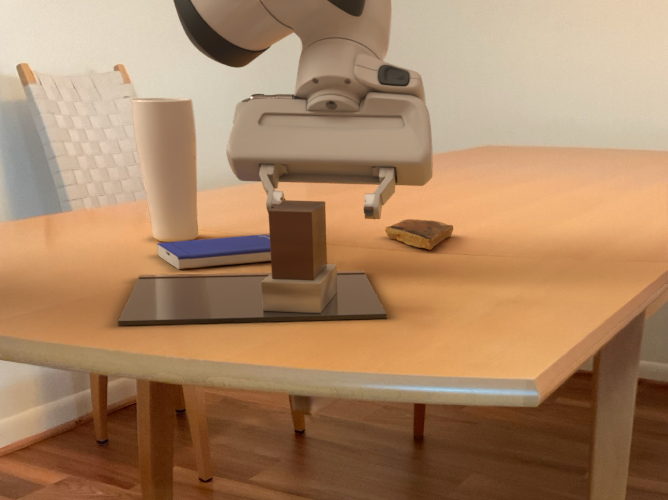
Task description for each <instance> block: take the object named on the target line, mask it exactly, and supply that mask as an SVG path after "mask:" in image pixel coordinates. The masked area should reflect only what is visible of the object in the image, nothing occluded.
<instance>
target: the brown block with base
mask: <svg viewBox="0 0 668 500" xmlns="http://www.w3.org/2000/svg"><path fill="white" fill-rule="evenodd" d="M326 212H327V211H326V201H323V200H320V201H319V200H287V199H285V201H283V202H282V203H280V204H279V205H277V206H275V207H274V208H272V209H271V210H269V211H267V213H269V214H268V228H269V229H268V230H269V236H270V249H271V261H270V263H271V264H270V265H271V272H272V273H271V274H269V275H268V276H267V277H266V278H265V279H264V280H263V281H261V287H262V304H263V311H271V312H296V313H321V312H322V311H323V310H324V308H325V307H326V306H327V304H328V303H329V302H330V301H331V299H332V298H333V297H334V295H335V294H336V293H337V271H338V265H337V264H335V263H328V252H327V251H328V249H327V216H326V215H327V214H326Z"/></svg>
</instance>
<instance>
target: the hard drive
mask: <svg viewBox="0 0 668 500" xmlns="http://www.w3.org/2000/svg"><path fill="white" fill-rule="evenodd" d="M156 247H157V255H158V257H159V258H160V259H162V260H164V261H165V262H167V263H168V264H169V265H171V266H173V267H174V268H176V269H177V270H184V269H197V268H199V269H200V268H210V267H219V266H230V265H231V266H232V265H241V264H253V263H262V262H271V249H270V234H267V233H265V234H253V235H240V236H239V235H238V236H229V237H228V236H227V237H215V238H203V239H194V240H190V241H178V242H158V243H157V245H156Z"/></svg>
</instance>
